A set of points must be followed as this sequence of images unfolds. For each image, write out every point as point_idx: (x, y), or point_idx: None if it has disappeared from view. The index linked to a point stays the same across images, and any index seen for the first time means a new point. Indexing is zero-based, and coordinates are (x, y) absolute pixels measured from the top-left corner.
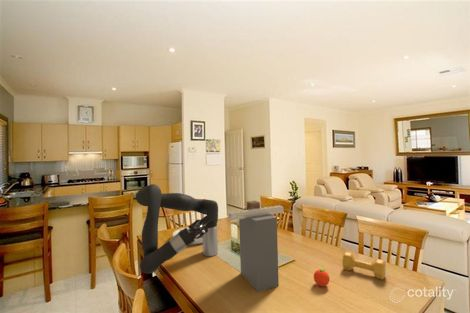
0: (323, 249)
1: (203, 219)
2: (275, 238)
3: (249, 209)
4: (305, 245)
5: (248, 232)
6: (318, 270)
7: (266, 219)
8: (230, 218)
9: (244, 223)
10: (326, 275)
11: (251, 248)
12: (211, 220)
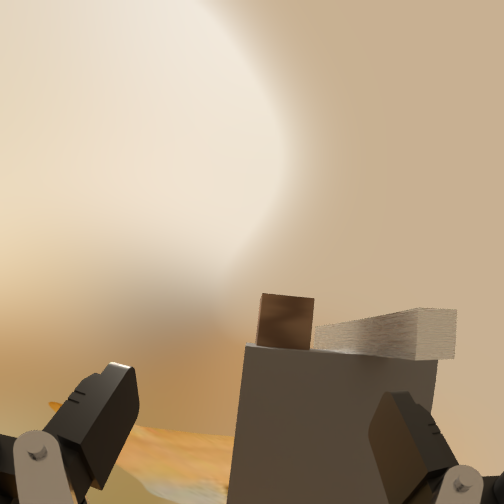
0: (220, 445)
1: (101, 430)
2: None
3: (292, 332)
4: (180, 446)
5: (356, 436)
6: None
7: None
8: (447, 345)
9: (316, 403)
10: None
11: (369, 495)
12: (409, 397)
